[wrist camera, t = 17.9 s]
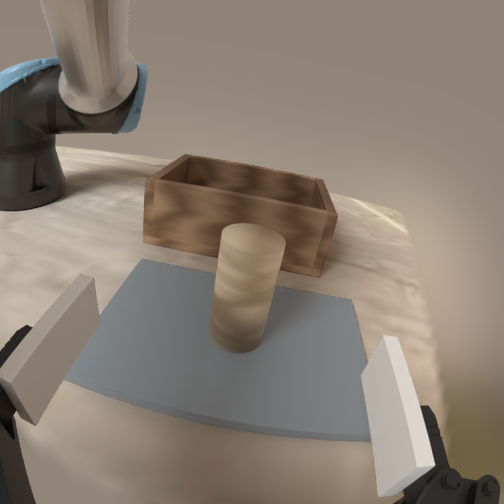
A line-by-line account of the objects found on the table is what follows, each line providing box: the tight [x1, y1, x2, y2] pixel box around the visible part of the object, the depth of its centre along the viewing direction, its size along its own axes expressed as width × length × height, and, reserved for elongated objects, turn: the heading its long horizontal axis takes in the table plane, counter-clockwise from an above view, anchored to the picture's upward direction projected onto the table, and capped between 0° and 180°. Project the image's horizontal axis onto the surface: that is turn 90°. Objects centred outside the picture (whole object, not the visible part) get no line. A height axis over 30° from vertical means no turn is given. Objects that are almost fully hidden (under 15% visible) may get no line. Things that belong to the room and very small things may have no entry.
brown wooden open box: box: [143, 154, 338, 277], centre depth 44 cm, size 22×16×8 cm
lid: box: [64, 223, 371, 442], centre depth 25 cm, size 23×17×10 cm
